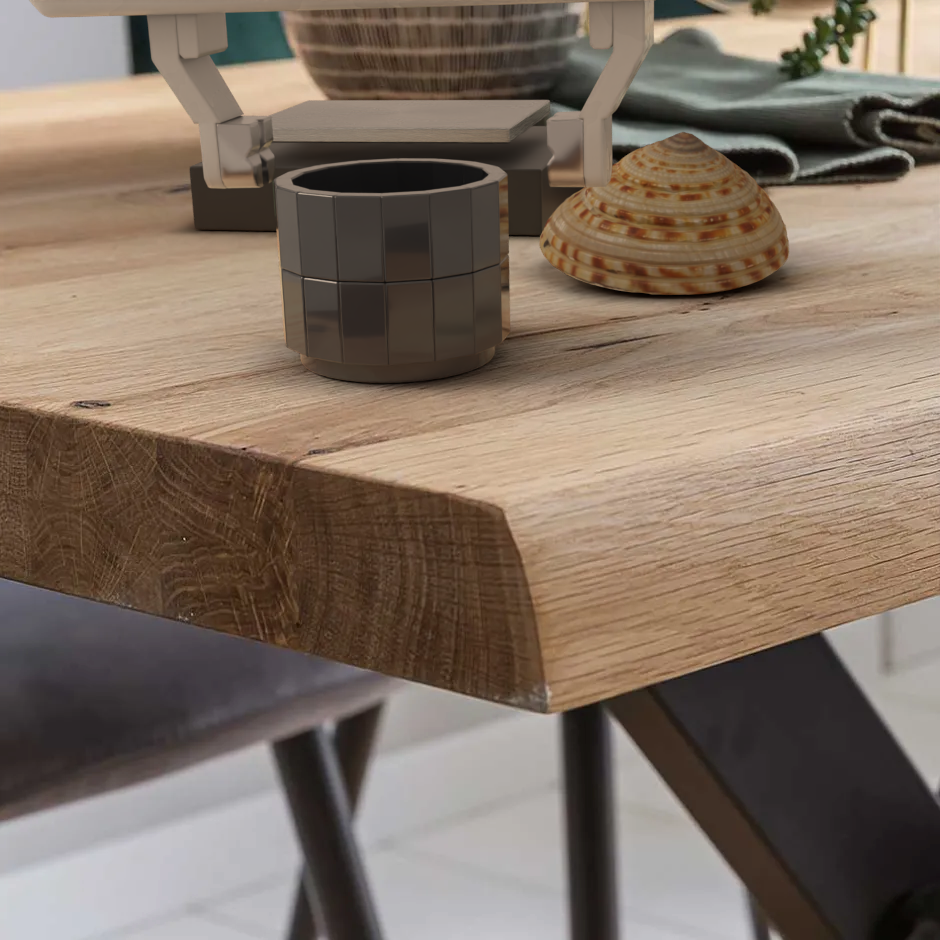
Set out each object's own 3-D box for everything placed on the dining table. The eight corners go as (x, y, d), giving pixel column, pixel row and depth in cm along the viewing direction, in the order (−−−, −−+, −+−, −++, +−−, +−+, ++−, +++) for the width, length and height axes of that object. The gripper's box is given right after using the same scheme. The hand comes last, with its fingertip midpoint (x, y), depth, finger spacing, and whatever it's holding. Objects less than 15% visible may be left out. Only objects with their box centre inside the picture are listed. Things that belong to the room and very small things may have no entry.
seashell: (734, 172, 58) (808, 109, 50) (747, 324, 58) (825, 284, 50) (514, 183, 57) (556, 120, 49) (527, 338, 56) (571, 300, 49)
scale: (191, 230, 62) (186, 167, 61) (292, 180, 73) (288, 125, 72) (541, 236, 59) (540, 170, 58) (590, 182, 70) (589, 125, 69)
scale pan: (236, 142, 62) (235, 127, 62) (308, 113, 70) (307, 100, 70) (509, 143, 60) (509, 127, 60) (550, 113, 68) (550, 99, 68)
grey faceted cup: (254, 383, 42) (240, 194, 40) (325, 324, 47) (315, 157, 46) (482, 392, 40) (477, 197, 39) (528, 330, 46) (525, 159, 44)
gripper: (821, -407, 38) (803, 164, 43) (51, -343, 43) (110, 168, 47) (818, -461, 33) (798, 205, 37) (-72, -381, 37) (9, 206, 42)
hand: (406, 185), depth 42 cm, fingers open, 8 cm apart
